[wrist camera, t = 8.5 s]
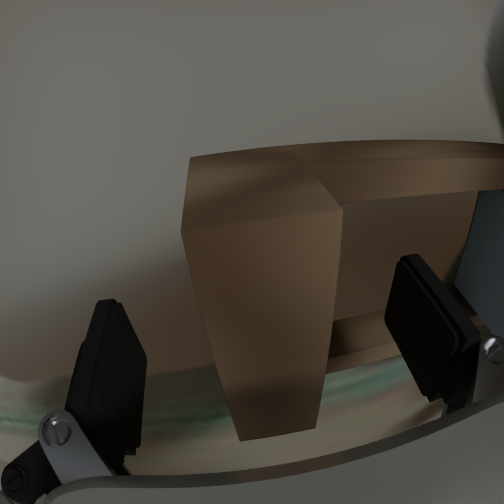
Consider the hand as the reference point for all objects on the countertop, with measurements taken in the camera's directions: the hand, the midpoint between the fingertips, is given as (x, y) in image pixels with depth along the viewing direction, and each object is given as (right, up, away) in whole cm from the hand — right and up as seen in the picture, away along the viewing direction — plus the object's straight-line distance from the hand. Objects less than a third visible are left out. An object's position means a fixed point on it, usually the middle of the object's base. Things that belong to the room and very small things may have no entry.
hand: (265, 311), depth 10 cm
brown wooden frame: (+8, +2, +2) cm, 9 cm away
